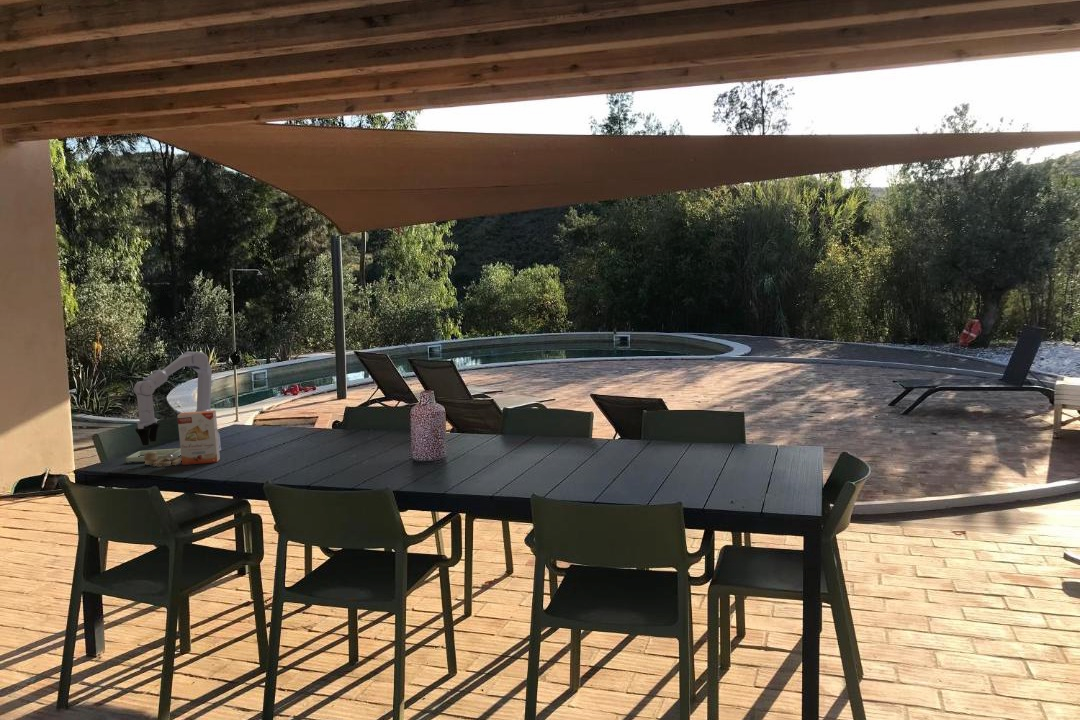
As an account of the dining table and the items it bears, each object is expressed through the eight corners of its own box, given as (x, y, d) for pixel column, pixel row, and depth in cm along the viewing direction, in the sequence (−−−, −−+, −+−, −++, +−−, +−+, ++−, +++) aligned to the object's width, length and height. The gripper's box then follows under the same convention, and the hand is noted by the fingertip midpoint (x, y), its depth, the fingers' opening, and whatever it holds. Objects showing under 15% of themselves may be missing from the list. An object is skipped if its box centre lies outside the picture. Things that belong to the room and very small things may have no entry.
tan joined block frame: (183, 460, 365) (182, 448, 364) (175, 465, 356) (174, 453, 356) (150, 462, 364) (149, 450, 364) (141, 467, 356) (140, 455, 355)
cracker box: (181, 465, 355) (176, 414, 353) (185, 462, 361) (180, 412, 359) (217, 462, 357) (212, 411, 355) (220, 459, 363) (215, 409, 361)
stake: (174, 462, 363) (173, 451, 362) (170, 464, 358) (169, 453, 358) (170, 462, 363) (168, 451, 362) (166, 464, 358) (164, 453, 358)
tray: (184, 453, 380) (183, 448, 379) (172, 460, 366) (171, 454, 366) (139, 456, 379) (139, 450, 379) (126, 463, 365) (125, 457, 365)
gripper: (143, 408, 365) (146, 440, 366) (128, 413, 350) (132, 447, 352) (160, 407, 365) (163, 439, 366) (146, 412, 351) (150, 446, 352)
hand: (149, 443), depth 359 cm, fingers open, 7 cm apart
